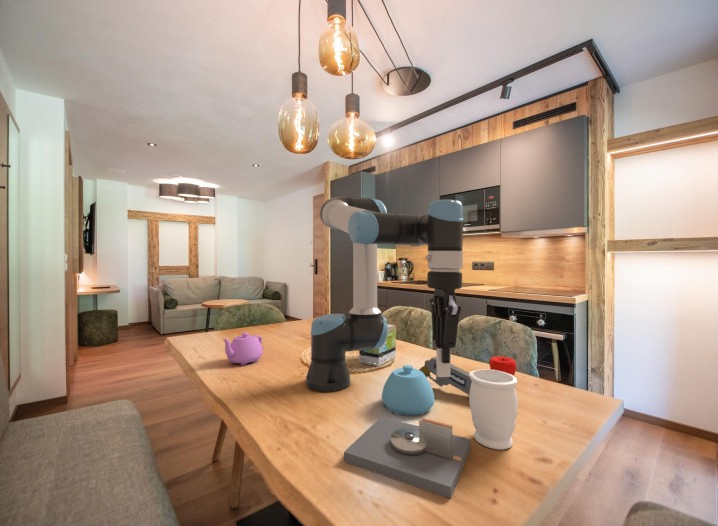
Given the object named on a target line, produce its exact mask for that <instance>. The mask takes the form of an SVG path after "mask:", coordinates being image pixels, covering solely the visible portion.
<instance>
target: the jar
mask: <svg viewBox="0 0 718 526" xmlns="http://www.w3.org/2000/svg"><path fill="white" fill-rule="evenodd" d="M469 373H470V379H471V380H472V383H471V387H470V396H469V395H468V397H469V408H470V409H469V410H470V413H471V414H470V415H471V421H472V424H473V427H474V429H475V431H474V433H473V437H474V439H475V440H476V442H477V443H478V444H480V445H482V446H483V447H486V448H490V449H492V450H499V451H500V450H501V451H502V450H507V449H510V448H511V447H512V446H513V444H514V441H513V439H512V436H513V434H514V431H515V429H516V428H515V427H516V424H517V423H516V420H517V416H518V407H519V404H518V403H519V401H518V393H517V389H516V387H517V386H518V378H517V377H516V376H515V375H514V376H513V375H511V374H509V373H506V372H502V371H497V370H491V369H488V368H487V369H486V368H483V369H474V370H472V371H470V372H469Z"/></svg>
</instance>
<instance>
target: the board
mask: <svg viewBox="0 0 718 526" xmlns="http://www.w3.org/2000/svg"><path fill="white" fill-rule="evenodd" d="M402 428H412V429H417V430H419V425H416V424H412V423H407V422H403V421H400V420H395V419H391V418H388V417H384V416H380V417H379V418H378V419H377V420H376V421H374V423H373V424H372V425H371V426H369V427H368V428H367V429H366V430H365V431H364V432H363V433H362V434H361V435H360V436H359V437H358V438H357V439H356V440H354V442H353V443H352V444H351V445H350V446H348V447H347V448H346V449H345V451H343V462H344V463H347V464H350V465H353V466H355V467H358V468H362V469H364V470H367V471H370V472H374V473H376V474H379V475H382V476H384V477H388V478H390V479H393V480H397V481H399V482H402V483H404V484H407V485H410V486H414V487H415V488H419V489H421V490H423V491H424V490H425V491H428V492H431V493H433V494H436V495H439V496H442V497H445V498H448V499H452V497H453V495H454V492H455V490H456V487H457V484H458V482H459V479H460V476H461V473H462V471H463V468H464V467H465V463H466V461H467V459H468V455H469V452H470V450H471V439H470V438H467V437H463V436H458V435H455V434H452V457H451V459H448V458H445V457H442V456H439V455H435V454H432V453H429V452H424V453H422V454H419V455H405V454H402V453H399V452H397V451H395V450H394V449H393V448H392V446H391V434H392V433H393V432H394V431H395V430H398V429H402Z"/></svg>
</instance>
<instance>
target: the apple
mask: <svg viewBox="0 0 718 526" xmlns="http://www.w3.org/2000/svg"><path fill="white" fill-rule="evenodd" d="M489 368H490V369H489V370H497V371H502V372H506V373H509V374H511V375H513V376H515V374H516V372H517V362H516V361H515V359H513V358H510V357H507V356H493V357H490V360H489Z"/></svg>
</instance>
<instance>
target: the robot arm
mask: <svg viewBox="0 0 718 526" xmlns="http://www.w3.org/2000/svg"><path fill="white" fill-rule="evenodd" d="M319 217H320V221H321V222H322V224H323V225H325V227H327V228H329V229H331V230H336V231H337V230H338V231H339V230H340V231H342V232H345V233H347V234H348V237H349V238H350V239H349V240H350V241H351V242H352V246H353V249H352V250H353V253H352V254H353V255H352V256H353V259H352V260H353V261H352V263H353V265H352V266H353V267H352V268H353V269H352V271H353V276H352V280H353V281H352V282H353V284H352V285H353V286H352V287H353V290H352V292H353V306H352V308H351V309H350V310H349V312H348V316H349V317H346V315H345V314H344V313H329V314H324V315H323V314H322V315H319V316H317V317H315V318H314V319H313V320H312V321H311V327H310V328H311V329H310V348H311V349H310V358H311V359H310V365H309V367H308V370H307V375H306V377H305V386H306V388H307V389H309V390H312V391H315V392H323V393H330V392H332V393H333V392H337V391H338V392H339V391H342V390H344V389H346V388H349V386H350V385H351V376H350V375H351V374H350V372H349V370H348V366H347V363H346V353H347V352H354V351H355V352H357V351H359V350H372V349H376V348H380V347H382V346H383V344H384V343H385V341H386V339H387V335H388V325H389V324H388V321H387V318H386V317H385V316H384V315H383V314H382V311H381V310H380V308H378V245H392V246H393V245H394V246H396V245H397V246H410V247H421V246H427V255H425V260H426V261H427V269H429V270H430V271H428V272H427V276H426V277H427V278H426V281H427V282H426V283H427V284H426V286H427V287H428V288H429V289H432V290H433V289H434V292H433V296H432V298H430V299H429V303H430V310H431V311H430V312H431V324H432V325H431V328H432V329H431V330H432V340H433V341H435V343H434V344H435V345H436V357H437V358H436V375H437V376H438V377H450V365H451V364H452V363H451V362H452V361H451V357H452V356H451V353H452V349H453V348H456V345H457V336H458V328H459V317H460V314H461V312H462V306H461V304H460V305H459V304H457V297H456V290H459V289H462V288H463V273H462V272H461V271H460V270H462V269H464V268H463V265H464V264H463V263H464V262H463V261H464V259H463V258H464V257H463V255H464V253H463V245H464V244H463V242H464V241H463V235H464V212H463V204H462V202H461V201H459V200H456V199H436V200H433V201H430V203H429V204H428V208H427V211H426V213H424V214H407V213H406V214H403V213H389V212H388V211H387V208H386V205H385V204H384V203H383V202H382V200H380V199H373V198H371V197H368V198H367V197H354V196H335V197H331V198H329V199H327V200H326V201H325V202H324V203H323V204H322V205H321V206H320V209H319ZM436 375H435V376H436ZM437 376H436V377H437Z"/></svg>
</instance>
